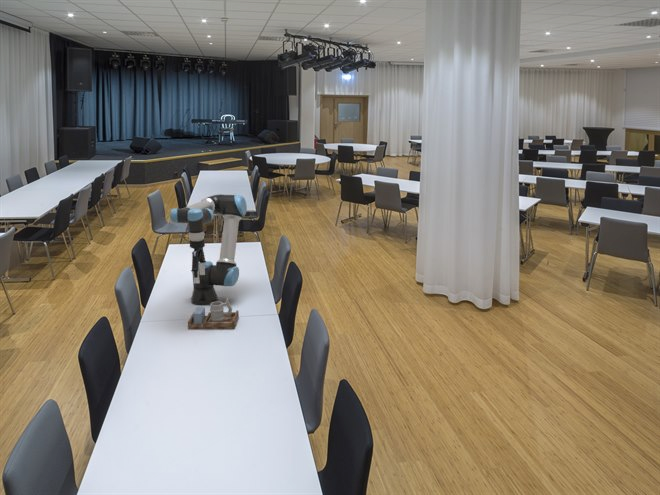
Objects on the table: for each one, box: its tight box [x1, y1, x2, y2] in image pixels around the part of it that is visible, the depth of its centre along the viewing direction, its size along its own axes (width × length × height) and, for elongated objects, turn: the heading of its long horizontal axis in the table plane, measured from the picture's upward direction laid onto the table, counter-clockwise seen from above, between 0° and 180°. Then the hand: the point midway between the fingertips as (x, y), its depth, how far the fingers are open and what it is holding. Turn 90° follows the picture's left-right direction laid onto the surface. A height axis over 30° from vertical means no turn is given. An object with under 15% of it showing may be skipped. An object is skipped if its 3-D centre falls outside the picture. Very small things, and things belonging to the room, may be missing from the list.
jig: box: [187, 310, 240, 330], centre depth 290 cm, size 24×15×4 cm, turn 91°
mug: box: [209, 297, 233, 322], centre depth 290 cm, size 8×12×12 cm, turn 110°
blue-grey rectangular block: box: [192, 306, 206, 324], centre depth 290 cm, size 9×4×6 cm, turn 1°
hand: (199, 278), depth 286 cm, fingers open, 13 cm apart
